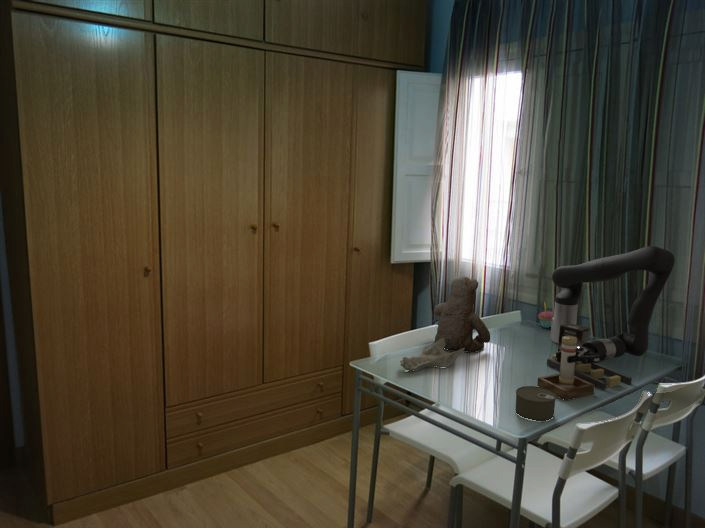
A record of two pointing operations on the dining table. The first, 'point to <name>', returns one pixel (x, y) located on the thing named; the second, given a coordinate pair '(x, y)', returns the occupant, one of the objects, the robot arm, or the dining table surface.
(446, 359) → the skull
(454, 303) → the toy
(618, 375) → the block
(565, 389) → the tray
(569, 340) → the fuse
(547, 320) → the cupcake
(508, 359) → the dining table surface
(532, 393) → the can
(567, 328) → the coffee box
